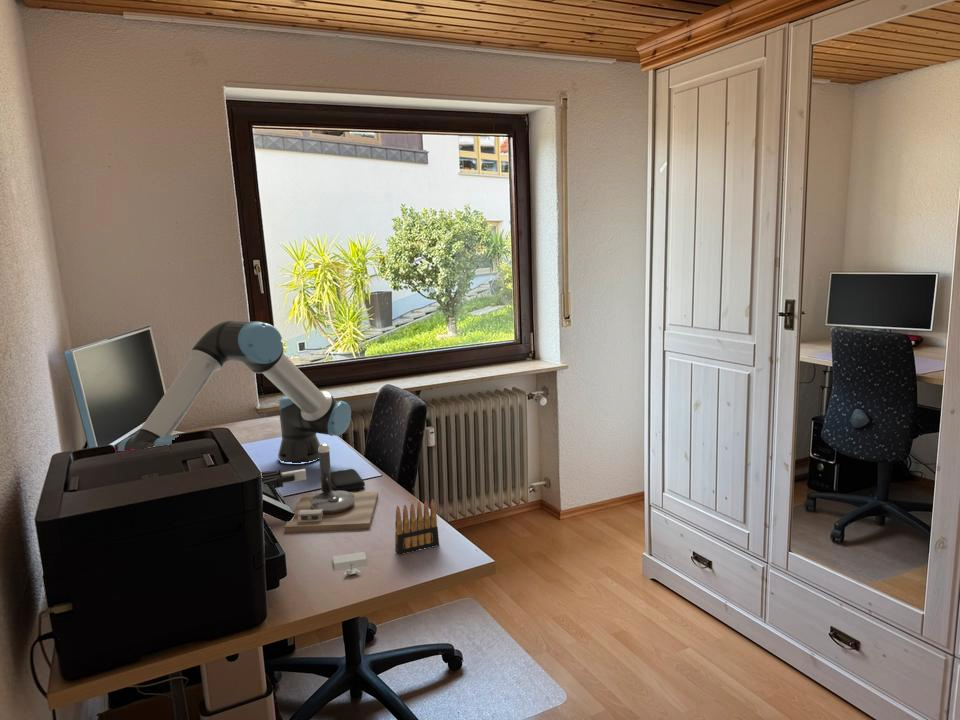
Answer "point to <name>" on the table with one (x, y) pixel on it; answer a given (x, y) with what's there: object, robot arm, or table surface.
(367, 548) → the table surface
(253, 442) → the table surface
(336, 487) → the carrying case or bag
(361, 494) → the level stand
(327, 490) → the grey rod on disc
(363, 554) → the white sign holder
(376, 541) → the table surface
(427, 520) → the ammunition clip
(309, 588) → the table surface
